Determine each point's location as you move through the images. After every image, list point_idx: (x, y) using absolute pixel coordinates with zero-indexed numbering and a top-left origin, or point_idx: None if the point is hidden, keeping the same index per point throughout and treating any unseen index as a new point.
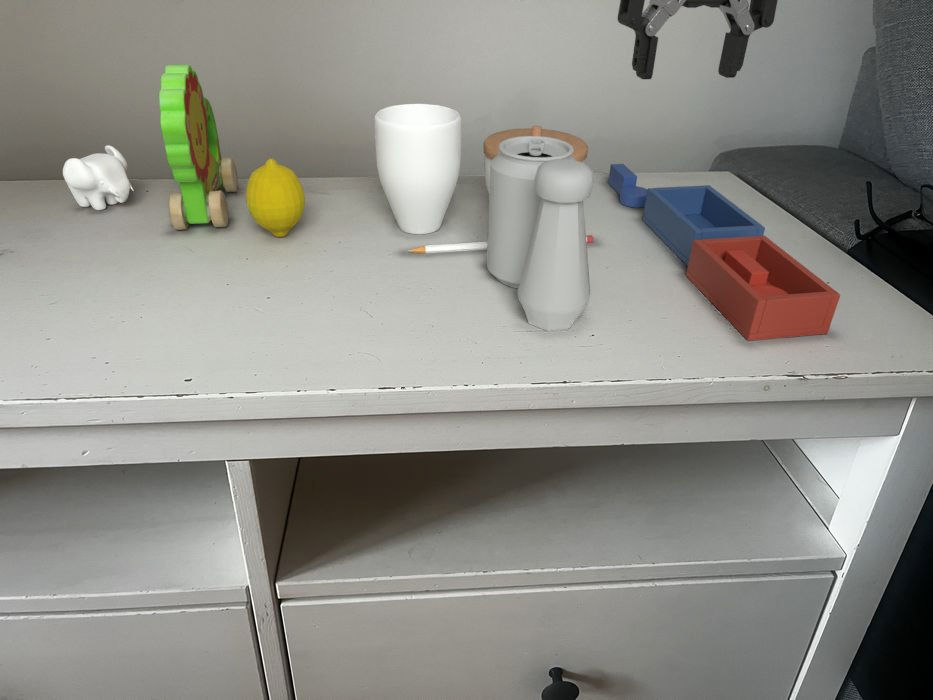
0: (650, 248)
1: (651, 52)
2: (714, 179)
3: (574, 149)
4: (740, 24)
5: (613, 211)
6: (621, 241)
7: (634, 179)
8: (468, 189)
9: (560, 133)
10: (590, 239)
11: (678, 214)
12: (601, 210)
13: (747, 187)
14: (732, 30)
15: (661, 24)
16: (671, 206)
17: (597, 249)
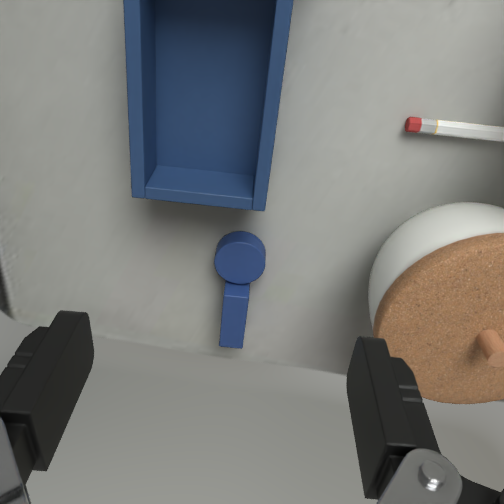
0: (317, 65)
1: (393, 399)
2: (53, 303)
3: (442, 282)
4: (8, 455)
5: (294, 229)
6: (352, 109)
7: (228, 292)
8: None
9: None
10: (415, 119)
11: (280, 66)
12: (312, 237)
13: (7, 263)
14: (27, 463)
15: (396, 488)
16: (270, 111)
17: (416, 88)
